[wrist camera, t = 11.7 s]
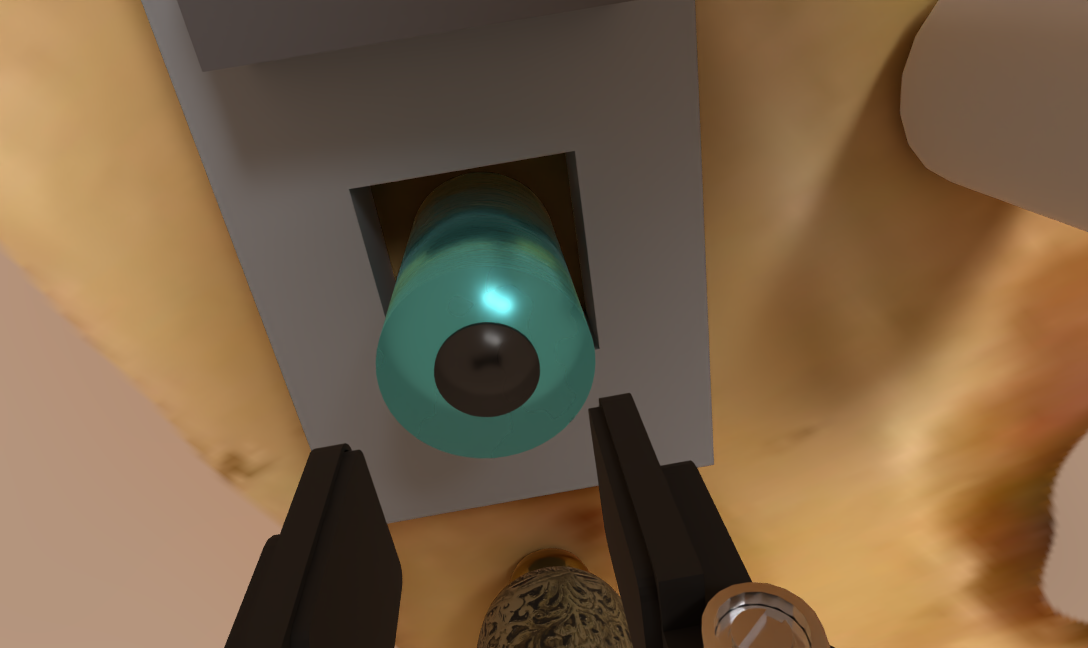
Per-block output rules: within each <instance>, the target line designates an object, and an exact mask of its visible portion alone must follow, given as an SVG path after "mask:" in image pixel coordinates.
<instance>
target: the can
mask: <svg viewBox="0 0 1088 648" xmlns="http://www.w3.org/2000/svg"><path fill="white" fill-rule="evenodd" d="M900 115H901V119H902V123H903V126H904V130H905V134H906V137H907V141H908V145H909V146H910V147H911V149H912V150H913V151H914V153H915V154H916V155H917V157H918V158H919V159H920V161H921V162H922V163H923V165H924V166H925V167H926V168H927V169H929V170H930V171H932V172H934V173H936V174H938V175H939V176H941V177H943V178H945V179H947V180H948V181H950V182H952V183H955V184H958V185H960V186H963V187H966V188H969V189H971V190H974V191H977V192H980V193H982V194H985V195H988V196H991V197H993V198H996V199H999V200H1002V201H1004V202H1007V203H1010V204H1013V205H1015V206H1018V207H1021V208H1023V209H1026V210H1029V211H1032V212H1034V213H1037V214H1040V215H1043V216H1045V217H1048V218H1051V219H1054V220H1056V221H1059V222H1062V223H1065V224H1067V225H1070V226H1073V227H1076V228H1078V229H1081V230H1084V231H1087V232H1088V0H938V2H937V3H936V5H935V6H934V8H933V9H932V11H931V13H930V14H929V16H928V17H927V19H926V20H925V22H924V23H923V25H922V27H921V28H920V30H919V31H918V33H917V34H916V36H915V39H914V42H913V45H912V48H911V51H910V54H909V57H908V60H907V62H906V65H905V68H904V71H903V74H902V85H901V102H900Z"/></svg>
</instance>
